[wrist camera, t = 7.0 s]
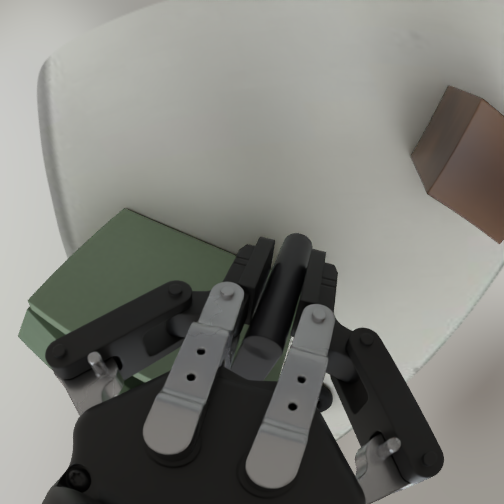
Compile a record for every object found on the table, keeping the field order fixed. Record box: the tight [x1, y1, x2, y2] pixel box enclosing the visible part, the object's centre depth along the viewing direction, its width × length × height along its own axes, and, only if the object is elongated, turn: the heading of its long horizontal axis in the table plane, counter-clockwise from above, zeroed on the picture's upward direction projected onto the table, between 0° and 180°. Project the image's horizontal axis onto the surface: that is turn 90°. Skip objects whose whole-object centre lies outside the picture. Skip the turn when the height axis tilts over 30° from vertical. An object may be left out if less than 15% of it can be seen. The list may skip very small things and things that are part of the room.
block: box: [411, 85, 504, 244], centre depth 12 cm, size 5×5×5 cm
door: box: [28, 208, 312, 382], centre depth 17 cm, size 7×16×12 cm, turn 75°
